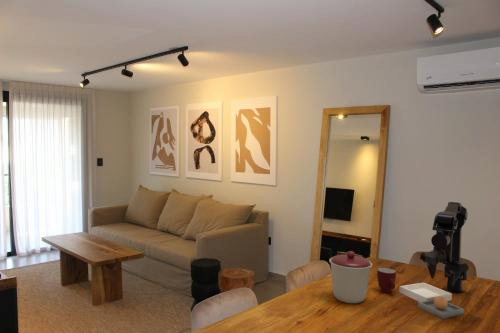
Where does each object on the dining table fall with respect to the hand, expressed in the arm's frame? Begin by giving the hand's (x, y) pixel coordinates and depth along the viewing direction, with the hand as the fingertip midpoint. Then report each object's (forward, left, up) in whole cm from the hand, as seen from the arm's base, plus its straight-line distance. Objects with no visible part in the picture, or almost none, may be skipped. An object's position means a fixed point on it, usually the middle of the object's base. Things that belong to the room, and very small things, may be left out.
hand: (442, 282), depth 159 cm
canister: (+28, -24, -12) cm, 39 cm away
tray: (0, 0, -12) cm, 12 cm away
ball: (0, 0, -9) cm, 9 cm away
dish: (-7, -14, -12) cm, 20 cm away
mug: (+6, -24, -12) cm, 27 cm away
